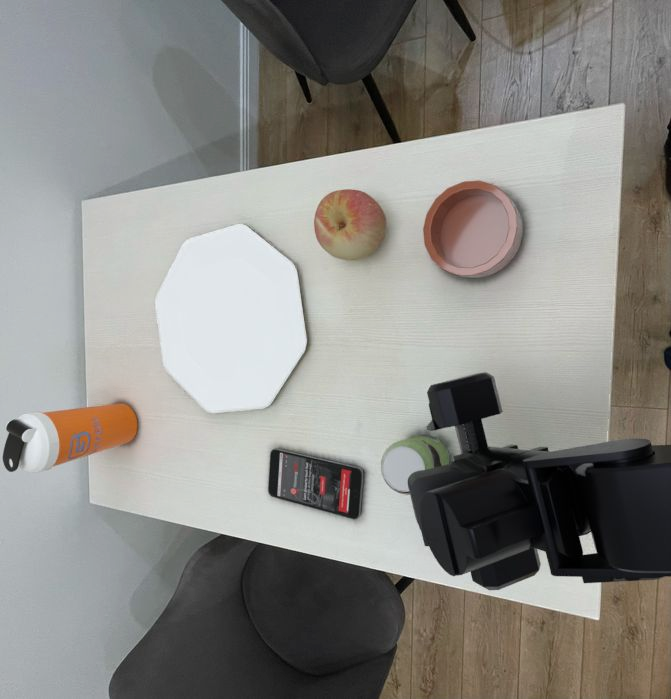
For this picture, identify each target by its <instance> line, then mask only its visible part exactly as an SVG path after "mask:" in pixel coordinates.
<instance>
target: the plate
mask: <svg viewBox="0 0 671 699" xmlns="http://www.w3.org/2000/svg"><path fill="white" fill-rule="evenodd" d="M297 268H298V267H297V266H296V264H295V263H294V262H293V261H292V260H290V258H288V257H286V256H285V255H284V254H283V253H282V252H281V251H279V250H278V249H277V248H276V247H274V246H273V245H272V244H271V243H270V242H268V241H267V240H265V239H264V238H263V236H261V235H259V234H258V233H256V231H254V230H253V229H252V228H250V227H249V226H248V225H247V224H242V223H237V224H233V225H230V226H226V227H223V228H220V229H216V230H214V231H210V232H206V233H203V234H200V235H197V236H193V237H189V238H187V239H186V240H185V241H184V242H182V244H181V246H180V248H179V250H178V252H177V254H176V256H175V258H174V260H173V261H172V263H171V266H170V268H169V270H168V271H167V273H166V275H165V278H164V279H163V281H162V283H161V285H160V288H159V289H158V291H157V293H156V295H155V299H154V309H155V316H156V322H157V331H158V337H159V338H158V339H159V344H160V345H159V346H160V354H161V359H162V365H163V368H164V370H165V371H166V373H167V374H168V375H169V376H170V377H171V378H172V379H173V380H174V381H175V382H176V383H177V385H179V386H180V387H181V388H182V389H183V391H185V392H186V393H187V394H188V395H189V396H190V397H191V398H192V400H194V401H195V402H196V403H197V405H199V406H200V407H201V408H202V409H203V410H204V411H205V412H207V413H210V414H221V413H232V412H233V413H234V412H241V411H254V410H262V409H267V408H268V407H270V406H271V405H272V404H273V403H274V401H275V399H276V398H277V396H278V395H279V393H280V391H281V390H282V389H283V387H284V385H285V384H286V382H287V381H288V379H289V377H290V376H291V374H292V373H293V372H294V370H295V368H296V367H297V365H298V364H299V362H300V360H301V359H302V357H303V356H304V354H305V353H306V351H307V347H308V340H309V339H308V333H307V326H306V319H305V312H304V305H303V298H302V297H303V296H302V292H301V291H302V290H301V284H300V276H299V270H298V269H297Z"/></svg>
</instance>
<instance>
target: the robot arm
mask: <svg viewBox="0 0 671 699" xmlns="http://www.w3.org/2000/svg"><path fill="white" fill-rule="evenodd" d="M426 394H427V398H428V402H429V403H428V408H429V413H430V416H431V420H430V422H429V423H428V424H426V427H425V428H426V431H429V432H434V431H438V430H442V429H446V428H453V427H454V429H455V433H456V438H457V441H458V446H459V450H460V453H459V454H456V455H453V456H452V457H453V461H451V462H449V465H444V466H440V467H435V468H431V469H426V470H420V471H416V472H413V473H412V474H411V475H410V476H409V478H408V488H409V492H410V495H409V496H410V500H411V504H412V508H413V513H414V517H415V520H416V523H417V525H418V527H419V530H420V532H421V537H422V540H423V544H424V547H429V549H430V551H431V553H432V555H433V557H434V559H435V560H436V562H437V563H438V565H439V566H440V567H441V568H442V570H443V571H444V572H446V573H447V574H448V575H449V576H451V577H456V576H457V577H458V576H463V575H465V574H468V573H470V575H471V576H470V577H471V579H472V582H473V583H476V584H477V585H478V586H480V587H482V588H484V589H486V590H488V591H500V590H502V589H505V588H506V587H509V586H512V585H514V584H517V583H519V582H522V581H525V580H527V579H529V578H532V577H534V576H536V575H537V573H538V572H539V571H540V569H541V566H542V563H541V559H540V555H539V551H542V552H545V555H546V560H547V563H548V567H549V572H550V575H551V576H553V577H568V578H570V577H572V578H573V577H575V578H577V577H578V578H581V579H582V583H583V584H599V583H601V584H602V583H616V582H618V583H621V582H637V581H640V582H641V581H656V580H660V579H663V578H667V577H671V444H653V445H652V442H651V440H650V439H646V438H625V439H624V438H623V439H616V440H610V441H605V442H604V441H603V442H598V443H593V444H586V445H582V446H576V447H569V448H565V449H559V450H552V451H549V447H548V446H537V447H535V448H531V449H523V448H519V446H518V444H508V445H505V446H501V447H500V446H489V445H488V441H487V436H486V433H485V429H484V424H483V420H484V419H486V418H490V417H494V416H497V415H501V413H503V412H504V411H503V407H502V404H501V399H500V395H499V391H498V388H497V383H496V380H495V376H494V375H492V374H490V373H489V372H487V371H485V372H479V373H473V374H470V375H465V376H462V377H457V378H453V379H450V380H446V381H442V382H437V383H433V384H430V386H429V388H428V389H427V391H426ZM589 534H591V537H592V542H593V544H594V550H595V552H594V553H586V554H584V550H583V545H582V543H581V538H580V537H582V536H587V535H589Z"/></svg>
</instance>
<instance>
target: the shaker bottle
mask: <svg viewBox="0 0 671 699" xmlns="http://www.w3.org/2000/svg"><path fill="white" fill-rule="evenodd" d="M138 427H139V426H138V418H137V415H136V413H135V411H134V409H133V408H132V407H131V406H130V405H128V404H127V403H122V402H119V403H112V404H103V405H94V406H87V407H78V408H70V409H61V410H53V411H45V412H42V411H33V412H29V413H24V414H21V415H19V417H17V418H13V419H10V420H9V421H8V422H7V423H6V425H5V430H6V432H7V433H8V434H7V437H6V440H5V443H4V448H3V452H2V463H3V466H4V468H5V470H6V471H8V472H10V473H14V472H16V471H17V470H18V468H19V469H21V470H23V471H25V472H27V473H30V474H39V473H41V472H45V471H49V470H51V469H52V468H53V467H56V466H60V465H63V464H66V463H69V462H72V461H75V460H78V459H81V458H85V457H88V456H90V455H93V454H97V453H100V452H102V451H107V450H109V449H112V448H115V447H119V446H122V445H124V444H129V443H131V442H132V441H133V440H134V439H135V438H136V435H137V433H138Z"/></svg>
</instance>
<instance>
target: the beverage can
mask: <svg viewBox="0 0 671 699" xmlns="http://www.w3.org/2000/svg"><path fill="white" fill-rule="evenodd" d="M449 464H450V454H449V450H448V448H447V447H446V445H445V444H444V443H443V442H442V441H441V440H440V439H438V438H437V437H435V436H432V435H428V434H421V435H418V436H414V437H409V438H406V439H401V440H398V441H395V442H393V443H392V444H390V445H389V446H388V447H387V448H386V449H385V451H384V452H383V454H382V457H381V460H380V472H381V476H382V478H383V481H384V482H385V483H386V485H387V486H388V487H389V488H390V489H391V490H393V491H394V492H396V493H398V494H401V495H406V496H410V492H409V488H408V478H409V476H410V475H411V474H412V473H413V472H416V471H420V470H426V469H431V468H435V467H440V466H444V465H449Z"/></svg>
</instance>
